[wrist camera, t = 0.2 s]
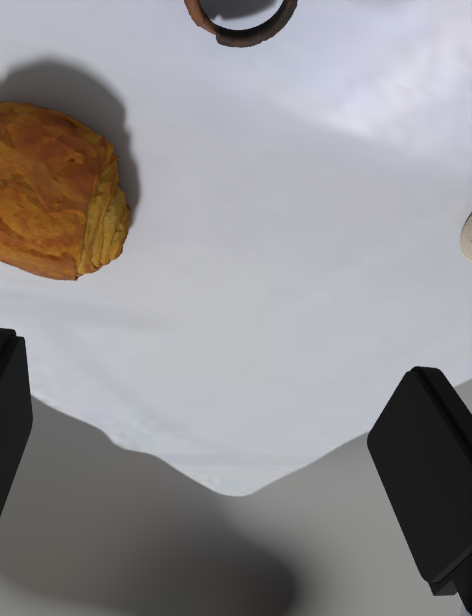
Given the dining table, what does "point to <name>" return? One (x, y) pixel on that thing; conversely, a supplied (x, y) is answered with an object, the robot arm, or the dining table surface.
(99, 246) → the croissant
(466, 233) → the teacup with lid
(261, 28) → the brown curved piece
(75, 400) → the dining table surface
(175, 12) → the dining table surface
